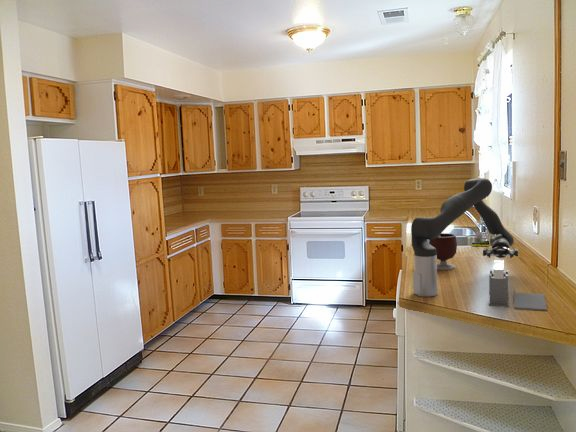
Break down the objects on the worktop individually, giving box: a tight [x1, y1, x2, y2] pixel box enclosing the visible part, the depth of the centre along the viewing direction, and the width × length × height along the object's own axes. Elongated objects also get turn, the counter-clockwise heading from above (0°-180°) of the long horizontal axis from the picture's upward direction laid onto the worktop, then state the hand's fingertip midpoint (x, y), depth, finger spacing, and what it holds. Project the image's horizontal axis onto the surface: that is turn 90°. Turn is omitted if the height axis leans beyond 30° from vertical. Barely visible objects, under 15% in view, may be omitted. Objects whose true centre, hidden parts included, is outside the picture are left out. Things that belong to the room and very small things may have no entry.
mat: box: [513, 292, 548, 311], centre depth 195 cm, size 21×11×1 cm, turn 156°
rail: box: [492, 259, 505, 279], centre depth 198 cm, size 18×4×4 cm, turn 156°
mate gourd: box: [428, 232, 458, 271], centre depth 260 cm, size 16×14×20 cm
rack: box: [488, 269, 510, 308], centre depth 196 cm, size 11×7×12 cm, turn 156°
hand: (500, 255), depth 213 cm, fingers open, 8 cm apart
